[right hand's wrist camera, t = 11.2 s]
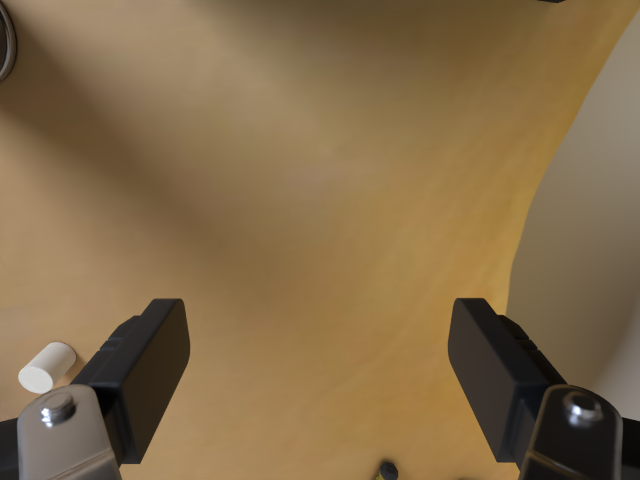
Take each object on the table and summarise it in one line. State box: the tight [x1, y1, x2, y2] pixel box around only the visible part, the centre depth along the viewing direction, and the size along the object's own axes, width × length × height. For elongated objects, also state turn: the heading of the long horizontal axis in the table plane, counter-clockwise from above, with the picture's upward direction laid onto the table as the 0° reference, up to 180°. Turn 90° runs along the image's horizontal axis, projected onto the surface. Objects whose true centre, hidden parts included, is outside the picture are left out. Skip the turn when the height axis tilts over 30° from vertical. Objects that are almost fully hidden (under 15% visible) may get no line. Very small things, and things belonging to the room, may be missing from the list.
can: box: [19, 342, 76, 393], centre depth 45 cm, size 4×4×4 cm
